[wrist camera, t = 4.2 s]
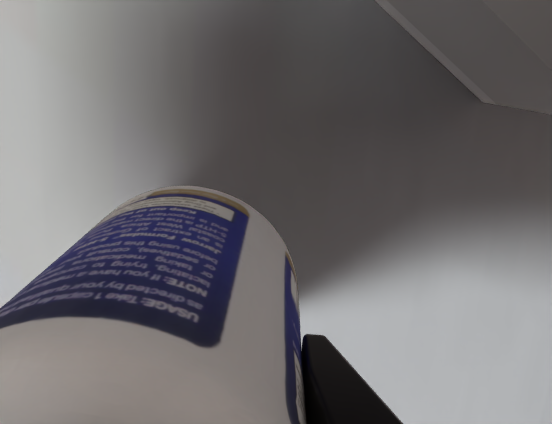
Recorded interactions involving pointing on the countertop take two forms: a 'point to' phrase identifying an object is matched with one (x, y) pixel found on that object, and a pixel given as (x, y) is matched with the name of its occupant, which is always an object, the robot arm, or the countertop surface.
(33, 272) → the countertop surface
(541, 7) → the walled box
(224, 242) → the pill bottle
